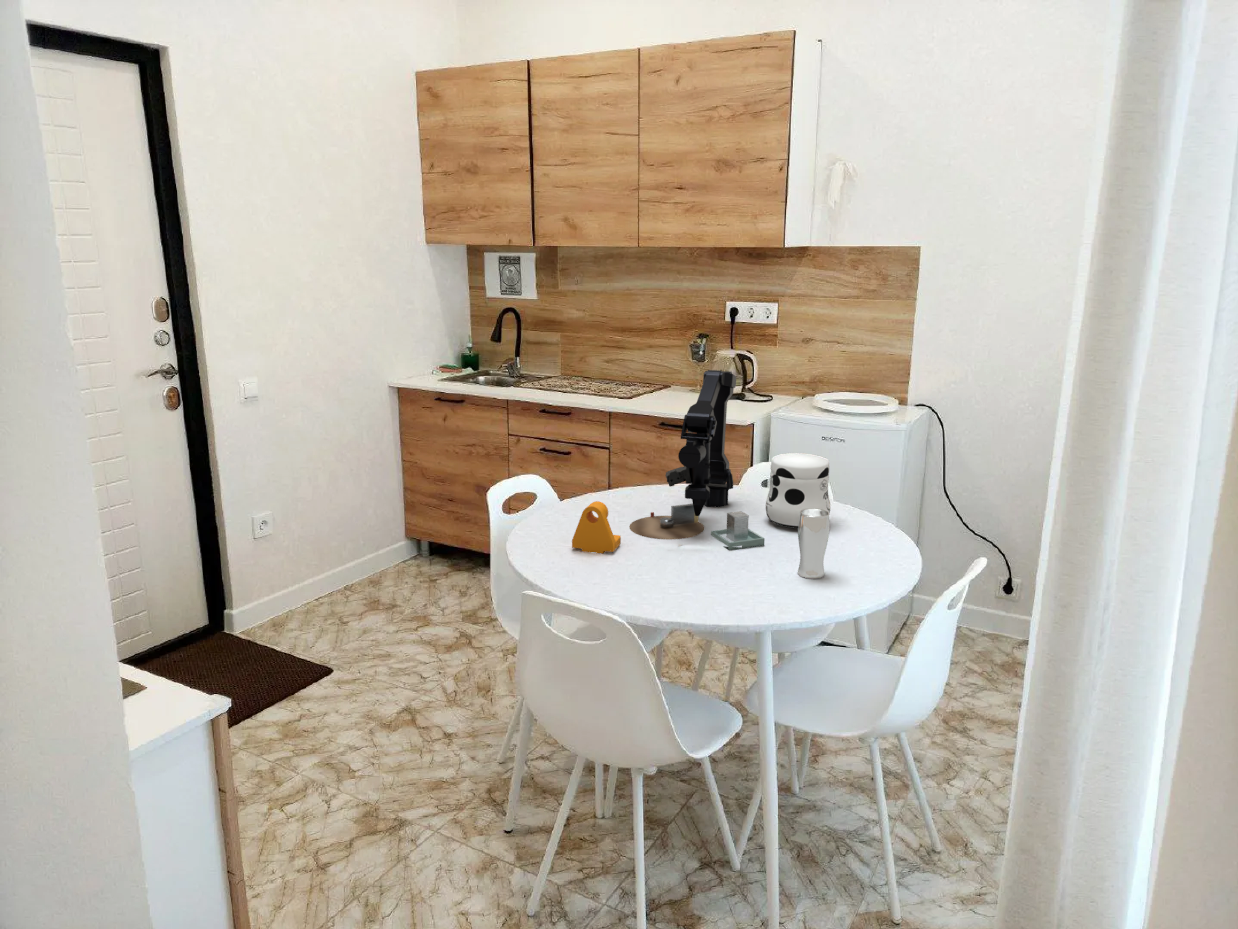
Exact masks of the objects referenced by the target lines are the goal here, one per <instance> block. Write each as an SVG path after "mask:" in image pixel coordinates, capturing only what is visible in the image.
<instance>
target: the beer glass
mask: <svg viewBox="0 0 1238 929" xmlns="http://www.w3.org/2000/svg"><path fill="white" fill-rule="evenodd" d="M797 537H798V538H797V539H798V548H799V557H800V558H799V560H800V561H799V565H798V570H797V574H798V576H799V577H802V578H804V577H805V579H808V578H809V580H817V579H818V578H819V579H822V578H824V577H825V574H826V573H825V565H824V560H825V554H826V549H827V546H828V542H829V539H830V538H829V537H830V514H829V512H828V511H825V510H822V509H816V508H808V509H803V510H801V511H800V517H799V525H798V528H797ZM821 577H822V578H821Z"/></svg>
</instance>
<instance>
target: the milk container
mask: <svg viewBox="0 0 1238 929" xmlns="http://www.w3.org/2000/svg"><path fill="white" fill-rule="evenodd" d="M769 475H770V476H769V477H770V480H769V491H768V494H767V496H766V500H765V512H766V516H767V518H768V520H769V521H771V523H774V524H775V525H778V526H781V527H785V528H792V529H798V525H799V517H800V511H801V510H803V509H808V508H816V509H822V510H825V511H828V512H829V515H830V513H831V501H830V495H829V483H830V482H829V481H830V460H829V459H828V458H826V457H824V456H821V455H818V454H817V455H816V454H811V453H804V452H803V453H801V452H797V453H796V452H790V453H789V452H788V453H781V454H777V455H774V456H773V457H772V458H771V462H770V474H769Z"/></svg>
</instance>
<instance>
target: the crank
mask: <svg viewBox="0 0 1238 929" xmlns="http://www.w3.org/2000/svg"><path fill="white" fill-rule="evenodd" d="M670 510H671V511H670V516H671V518H668V517H665V518H661V519H660V526H662V527H673V526H674V525H679V524H687V523H696V522H699V516H695V512H694V507H693V503H687V504H679V505H671V509H670Z"/></svg>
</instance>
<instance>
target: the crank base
mask: <svg viewBox="0 0 1238 929" xmlns="http://www.w3.org/2000/svg"><path fill="white" fill-rule="evenodd" d="M665 517H668V518H671V515H655V513H654V512H653V511H651V512H650V516H647V517H641V518H638V519H635V520H633V521H632V522H631V523H630V524H629V530H630V531H631V532H632V533H633V534H635V535H638V536H640V537H644V538H648V539H654V540H655V539H656V540H667V541H668V540H671V541H672V540H682V539H689V538H693V537H696V536H699V535H700V534H702V533H703V532H704V531H705V526H704V524H703V523H702V522H700V521H698V522H696V523H687V524H679V525H674V526H673V527H662V526H660V519H661V518H665Z"/></svg>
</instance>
